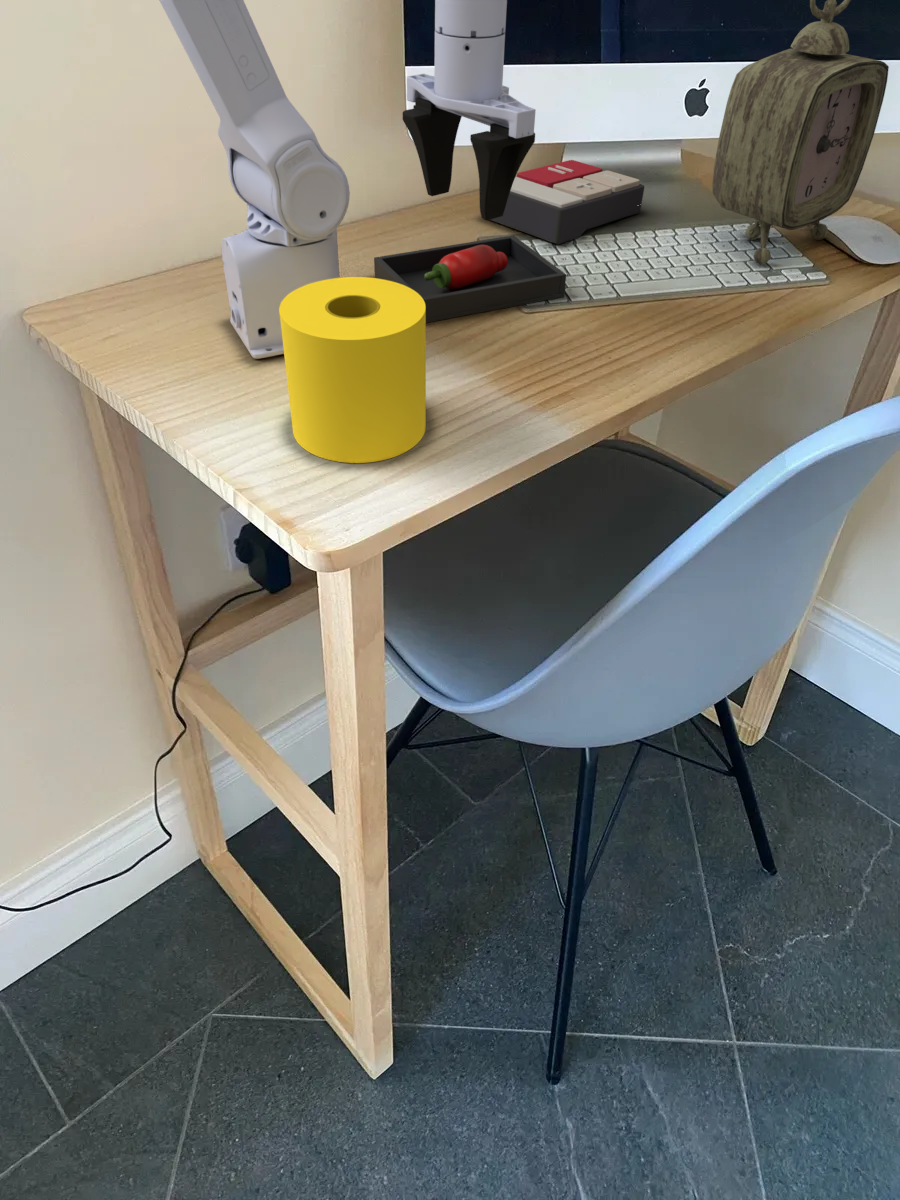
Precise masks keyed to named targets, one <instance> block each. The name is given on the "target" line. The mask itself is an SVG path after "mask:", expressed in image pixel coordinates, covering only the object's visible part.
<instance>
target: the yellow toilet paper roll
mask: <svg viewBox="0 0 900 1200" xmlns="http://www.w3.org/2000/svg"><path fill="white" fill-rule="evenodd" d="M279 313H280V322H281V331H282V339H283V348H284V354H283V355H284V364H285V375H286V382H287V383H286V384H287V391H288V400H289V409H290V417H291V419H290V420H291V427H292V435H293V437H294V439H295V441H296V442H297V444H298V445H299V446H300V447H301V448H303V449H304V450H305V451H306V452H308V453H310V454H312V455H313V456H316V457H319V458H321V459H325V460H328V461H332V462H339V463H345V464H346V463H347V464H365V463H367V464H368V463H375V462H380V461H385V460H389V459H392V458H395V457H398V456H400V455H403V454H405V453H406V452H408V451H410V450H412V449H413V448H414V447H416V446H417V445H418V444H419V443H420V442H421V440H422V438H423V437H424V436H425V433H426V428H427V425H426V424H427V422H426V419H427V417H426V416H427V415H426V414H427V413H426V412H427V410H426V409H427V408H426V405H427V404H426V401H427V399H426V398H427V397H426V396H427V394H426V393H427V392H426V390H427V389H426V387H427V385H426V384H427V383H426V382H427V381H426V378H427V377H426V376H427V375H426V372H427V370H426V369H427V368H426V366H427V365H426V363H427V362H426V361H427V359H426V357H427V355H426V353H427V351H426V349H427V346H426V345H427V339H426V338H427V335H426V332H427V331H426V329H427V326H426V306H425V302H424V300H423V298H422V297H421V296H420V295H419V294H418V293H417V292H415V291H414V290H412V289H411V288H409V287H407V286H404V285H402V284H399V283H396V282H392V281H388V280H383V279H377V278H375V277H368V276H367V277H366V276H365V277H364V276H345V277H340V278H333V279H327V280H322V281H318V282H314V283H310V284H307V285H305V286H302V287H300V288H298V289H296V290H294V291H293V292H291V293H290V294H288V295H287V296H286V297H285V298H284V299H283V300H282V302H281V304H280V307H279Z"/></svg>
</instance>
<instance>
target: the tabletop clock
mask: <svg viewBox="0 0 900 1200" xmlns="http://www.w3.org/2000/svg"><path fill="white" fill-rule="evenodd" d="M851 1H852V0H843V1H842V2H841V3H840V4H839V5H837V4H838V2H837V0H826V1H825V2H824V5H823V9H820V8H819V7H818V6H817V5H816V0H809V8H810V11H811V14H812V16H814V17H816V18H817V19H819V20H818V21H813V22H809V23H808V24H806V26H804V27H803V28H802V29H801V30H800V31H799V32H798V33H797V35H796V36H795V37H794V39H793V41H792V43H791V45H790V48H788V49H785V50H782V51H780V52H777V53H774V54H771V55H769V56H766V57H764V58H761V59H759V60H756V61H754V62H752V63H749V64H747V65H746V66H744V67H742V69H741V70H739V71H738V72H737V73H736V74H735V77H734V80H733V82H732V84H731V86H730V87H731V88H730V91H729V94H728V97H727V101H726V105H725V110H724V114H723V119H722V123H721V127H720V132H719V136H718V141H717V148H716V152H715V159H714V165H713V171H712V172H713V173H712V181H711V186H712V194H713V196H714V199H715V200H716V201H717V204H718V205H719V206H720V207H721V208H722V209H725V210H727V211H730V212H733V213H737V214H739V215H741V216H745V217H747V218H750V219H753V220H755V222H754V223H751V224H750V225H748V226H747V228H746V229H745V236H746V238H747V239H748V240H750V241H755V240H757V239H758V238H760V248H758V249H756V250H755V252H754V254H753V260H754V262H755V263H756V264H758V265H765V264H767V263H768V262H769V261H770V259H771V251H770V250H769V248H767V245H768V241H769V236H770V231H771V228H772V226H775V227H778V228H781V229H784V230H787V231H793V230H799V229H802V228H805V227H808V226H812V225H814V227H813V228H812V230H811V236H812V237H813V239H815V240H817V241H821V240H824V239H825V238H827V236H828V234H829V227H828V226H827V225H826V224H824V223H821V222H820V221H822V220H824V219H826V218H828V217H830V216H832V215H834V214H835V213H837V212H838V211H840V210H841V209H842V208H844V206H845V205H846V204H847V203H848V202H849V201H850V199H851V197H852V195H853V193H854V191H855V189H856V187H857V183H858V181H859V179H860V177H861V173H862V171H863V169H864V166H865V163H866V159H867V156H868V153H869V151H870V148H871V144H872V142H873V139H874V136H875V132H876V128H877V125H878V121H879V117H880V113H881V110H882V106H883V102H884V98H885V93H886V89H887V84H888V77H889V70H890V69H889V68H890V67H889V65H888V64H887V63H886V62H885V61H882V60H880V59H879V60H878V59H874V58H868V57H863V56H858V55H854V54H849V53H848V52H849V51H850V40H849V36H848V32H847V31H846V29H845V27H843V26H842V25H840V24H839V23H837V22H834V17H836V16H838V15H840V14H841V13H842V12H843V11H844V10H845V9H847V7H848V6H849V4H850V3H851Z"/></svg>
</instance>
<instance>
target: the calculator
mask: <svg viewBox="0 0 900 1200" xmlns="http://www.w3.org/2000/svg"><path fill="white" fill-rule="evenodd" d="M644 193H645V185H644V184H642V183H641V180H640V179H638V178H635V177H632V176H628V175H625V174H622V173H618V172H615V171H612V170H603V168H601V167H598V166H594V165H592V164H588V163H584V162H581V161H578V160H574V159H569V160H565V161H560V162H557V163H553V164H547V165H544V166H541V167H537V168H532V169H527V170H525V171H520V172H519V171H518V172H517V174H516V177H515V179H514V182H513V184H512V187H511V190H510V193H509V197H508V200H507V203H506V207H505V210H504V213H503V216H501V217H497V218H494V219H490V220H489V221H492V222H494V223H497V224H500V225H503V226H506V227H508V228H511V229H513V230H516V231H519V232H522V233H525V234H527V235H530V236H533V237H536V238H538V239H541V240H544V241H547V242H550V243H552V244H555V245H560V244H563V243H566V242H570V241H572V240H576V239H579V238H580V237H581V236H582V235H583V234H584V232H585V231H586V230H590V229H592V228H596V227H599V226H602V225H605V224H609V223H611V222H615V221H618V220H621V219H624V218H628V217H630V216H633V215H637V214H639V213H641V210H642V203H643V198H644ZM640 204H641V205H640ZM637 205H639V206H637Z"/></svg>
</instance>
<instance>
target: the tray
mask: <svg viewBox="0 0 900 1200" xmlns="http://www.w3.org/2000/svg"><path fill="white" fill-rule="evenodd" d="M477 245H488V246H490V247H492V248H493V249H494V250H495V251H496V252H503V253H504V254H505V255H506V256H507V259H508V264H507V266H506V268H505V269H504V270H502V271H499V272H496V273H495V274H494V275H493V276H492V277H491V278H489V279H487V280H484V281H481V282H478V283H475V284H472V285H469V286H466V287H463V288H460V289H455V290H453V289H448V288H446V287H445V288H439V287H438V286H437V285H436V284H435V283H434V281H433V279H432V280H429V281H427V280H425V278H424V275H425V274H426V273H428V272H431V271H432V269H433V266H434V265H435V264H438V263H439V262H440V260H441V259H442V258H443V257H444V256H446V255H448V254H451V253H455V252H458V251H461V250H464V249H468V248H471V247H474V246H477ZM373 267H374V268H373V270H374V278H377V279H383V280H388V281H392V282H396V283H399V284H402V285H404V286H407V287H409V288H411V289H412V290H414V291H415V292H417V293H418V294H419V295H420V296H421V297H422V298H423V300H424V302H425V306H426V323H432V322H438V321H443V320H448V319H453V318H459V317H465V316H471V315H475V314H480V313H485V312H486V313H487V312H491V311H496V310H501V309H507V308H512V307H517V306H518V307H519V306H523V305H528V304H534V303H538V302H543V301H549V300H555V299H560V298H565V292H566V281H567V274H566V273H565V272H564V271H562V270H561V269H560V268H559V267H557V266H556V265H554V264H553V263H552V262H550V261H549V260H548V259H546V258H545V257H543V256H542V255H541V254H539V253H538V252H536V250H534V249H532V248H531V247H530V246H529V245H527V244H526V243H524V242H523V241H522V240H521V239H520V238H518V237H517V236H515V235H514V234H513V235H512V234H511V235H507V236H501V237H493V238H487V239H481V240H474V241H469V242H462V243H455V244H450V245H443V246H437V247H432V248H431V247H430V248H425V249H419V250H411V251H407V252H400V253H399V252H398V253H393V254H387V255H380V256H375V257H373Z"/></svg>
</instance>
